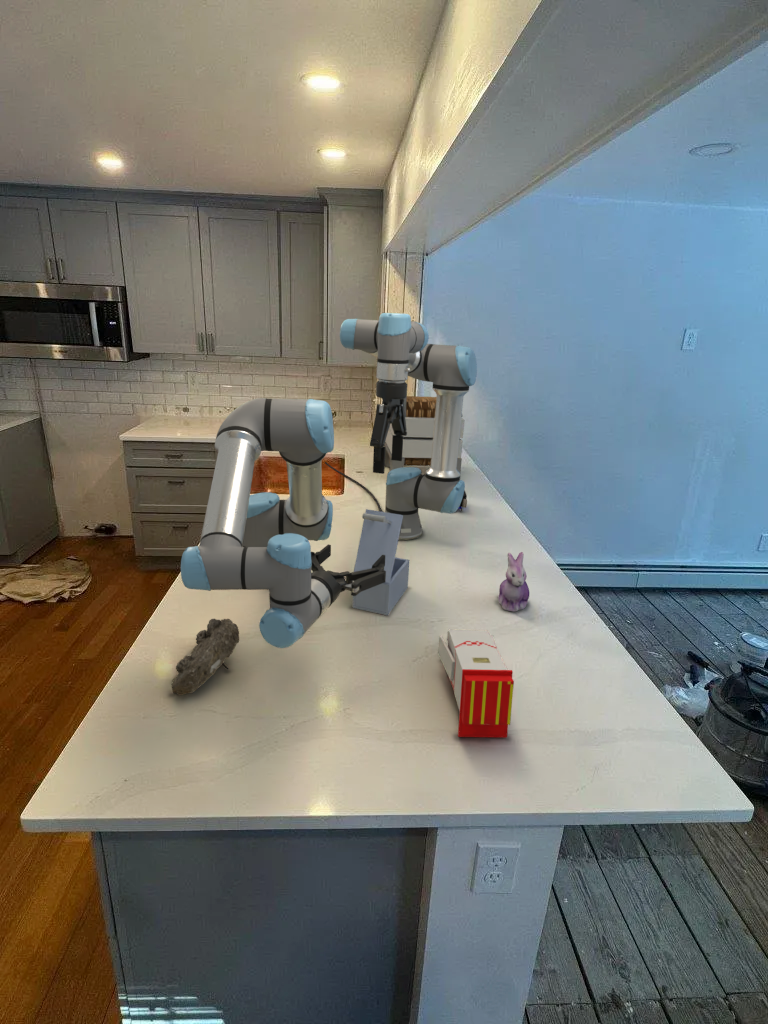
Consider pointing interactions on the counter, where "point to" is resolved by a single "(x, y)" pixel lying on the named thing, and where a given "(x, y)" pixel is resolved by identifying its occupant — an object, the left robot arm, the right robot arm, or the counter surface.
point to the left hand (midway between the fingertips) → (356, 554)
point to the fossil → (206, 655)
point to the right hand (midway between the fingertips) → (387, 466)
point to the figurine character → (463, 502)
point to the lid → (378, 540)
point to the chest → (385, 591)
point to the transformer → (418, 434)
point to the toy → (478, 682)
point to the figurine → (514, 585)
